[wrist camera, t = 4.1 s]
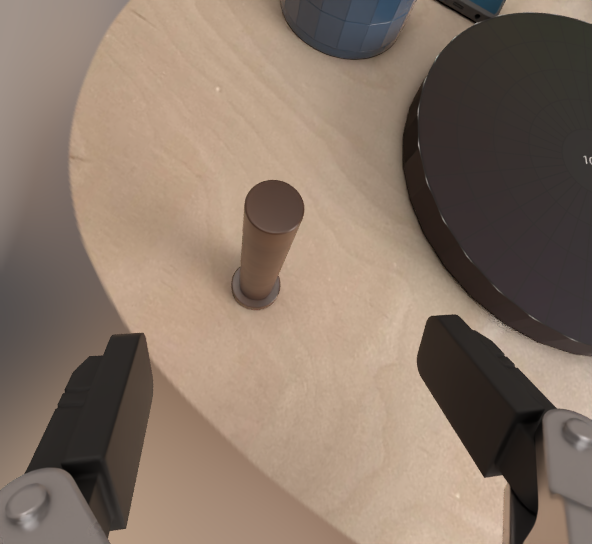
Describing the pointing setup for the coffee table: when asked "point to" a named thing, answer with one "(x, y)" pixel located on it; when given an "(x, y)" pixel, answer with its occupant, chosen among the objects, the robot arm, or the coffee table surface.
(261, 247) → the stick
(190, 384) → the coffee table surface
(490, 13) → the smartphone
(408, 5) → the bowl
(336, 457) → the coffee table surface
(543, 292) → the disc
